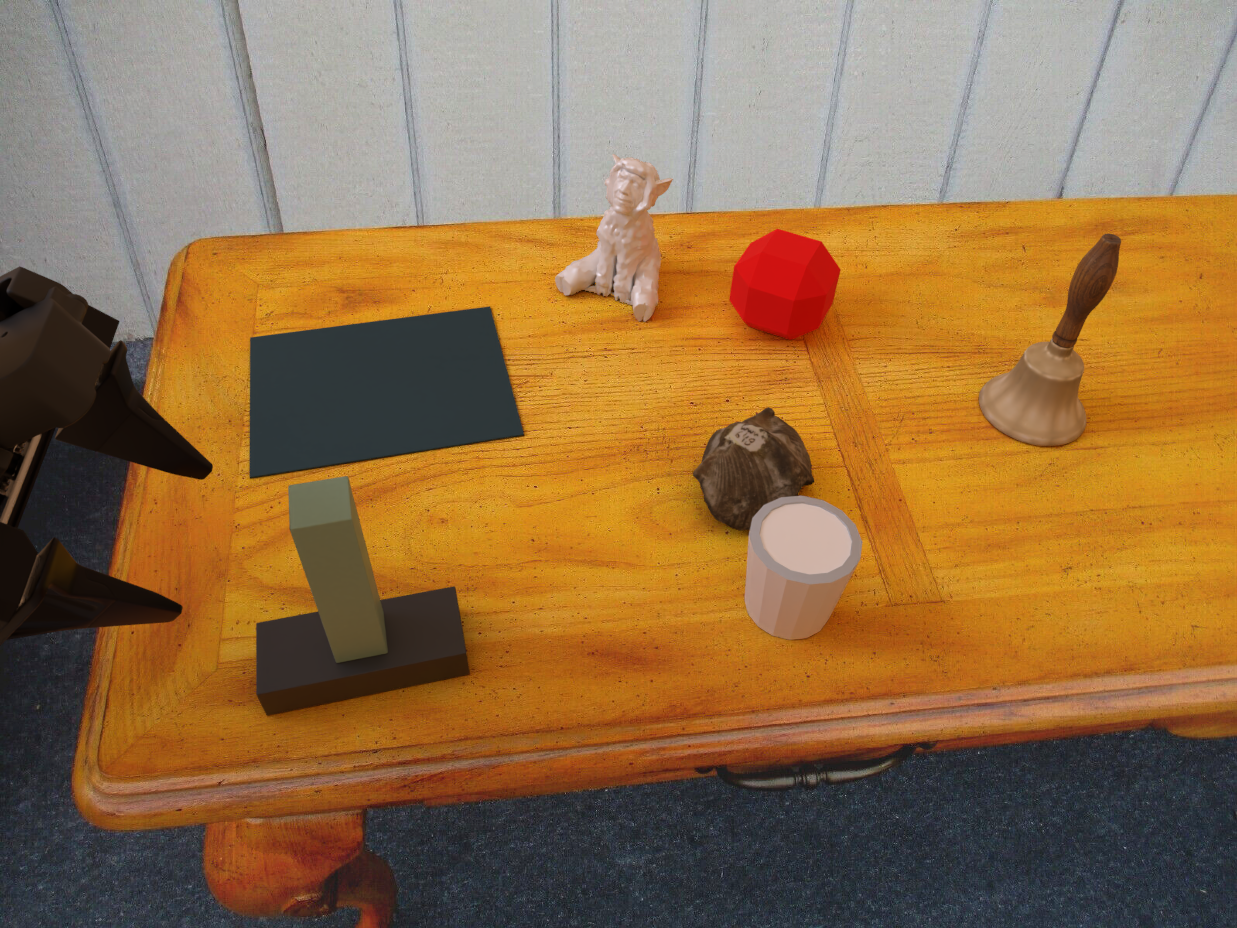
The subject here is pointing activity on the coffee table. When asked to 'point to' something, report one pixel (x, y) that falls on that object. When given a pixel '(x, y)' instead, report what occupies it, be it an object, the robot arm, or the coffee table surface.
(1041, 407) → the hand bell
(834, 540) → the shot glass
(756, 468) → the fossilized seashell
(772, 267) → the ball
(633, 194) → the white creature statuette
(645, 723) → the coffee table surface
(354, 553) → the wiper
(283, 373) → the cloth mat
